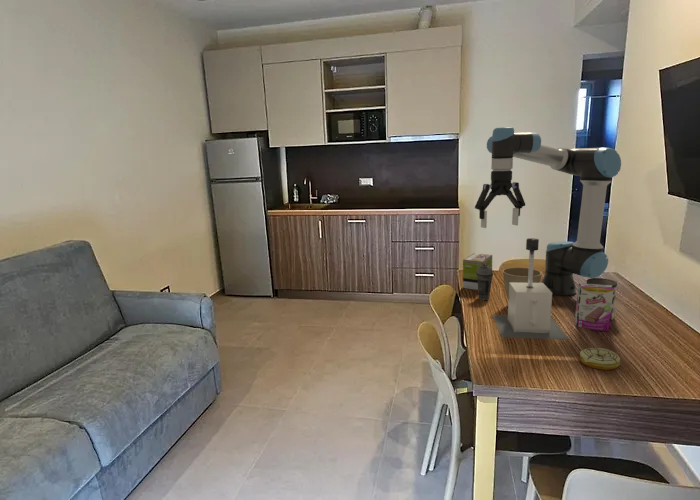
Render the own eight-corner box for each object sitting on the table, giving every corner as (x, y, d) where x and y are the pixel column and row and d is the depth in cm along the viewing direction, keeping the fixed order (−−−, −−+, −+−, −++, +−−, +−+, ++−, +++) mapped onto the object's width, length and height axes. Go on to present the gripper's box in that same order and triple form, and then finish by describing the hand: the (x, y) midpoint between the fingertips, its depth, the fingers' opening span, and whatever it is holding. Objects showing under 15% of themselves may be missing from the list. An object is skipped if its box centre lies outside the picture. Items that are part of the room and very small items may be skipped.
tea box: (473, 280, 223) (473, 252, 220) (492, 283, 217) (493, 254, 214) (462, 288, 211) (462, 258, 208) (482, 291, 205) (483, 261, 202)
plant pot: (546, 312, 175) (549, 274, 172) (512, 316, 173) (514, 277, 169) (526, 301, 190) (528, 265, 186) (494, 303, 187) (496, 268, 184)
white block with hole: (540, 320, 165) (542, 282, 162) (551, 336, 151) (554, 295, 147) (507, 319, 167) (509, 282, 164) (515, 335, 153) (517, 294, 149)
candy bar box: (576, 329, 158) (579, 286, 155) (574, 324, 163) (577, 282, 159) (611, 332, 154) (615, 288, 151) (607, 327, 159) (612, 284, 156)
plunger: (539, 298, 162) (543, 236, 157) (546, 307, 153) (550, 242, 148) (512, 298, 164) (515, 236, 158) (518, 307, 154) (521, 242, 149)
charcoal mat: (550, 318, 169) (550, 315, 169) (569, 342, 148) (569, 339, 148) (492, 316, 173) (492, 314, 172) (502, 339, 152) (502, 337, 151)
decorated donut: (576, 354, 139) (577, 343, 139) (614, 358, 136) (615, 347, 135) (582, 369, 130) (583, 357, 129) (623, 374, 126) (624, 362, 126)
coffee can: (583, 310, 177) (585, 276, 174) (612, 313, 172) (615, 279, 169) (584, 318, 168) (587, 284, 165) (615, 322, 163) (619, 286, 160)
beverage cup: (490, 295, 198) (491, 253, 194) (494, 301, 191) (495, 257, 187) (474, 295, 199) (475, 253, 194) (477, 301, 192) (478, 257, 187)
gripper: (524, 168, 168) (521, 222, 172) (466, 171, 162) (465, 227, 167) (537, 168, 161) (533, 225, 165) (476, 171, 155) (475, 230, 160)
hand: (499, 226), depth 166 cm, fingers open, 13 cm apart
